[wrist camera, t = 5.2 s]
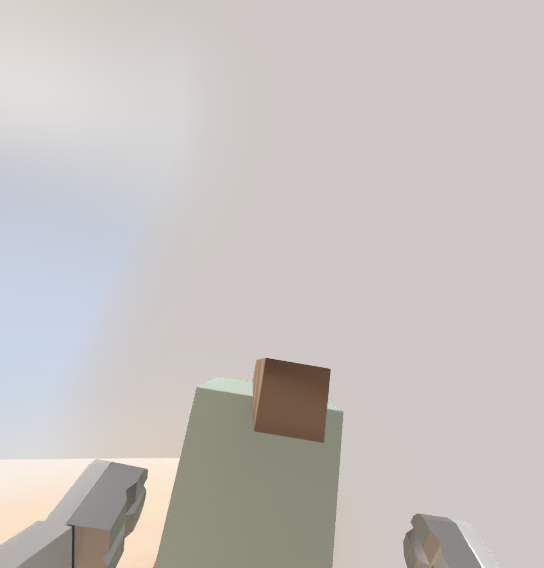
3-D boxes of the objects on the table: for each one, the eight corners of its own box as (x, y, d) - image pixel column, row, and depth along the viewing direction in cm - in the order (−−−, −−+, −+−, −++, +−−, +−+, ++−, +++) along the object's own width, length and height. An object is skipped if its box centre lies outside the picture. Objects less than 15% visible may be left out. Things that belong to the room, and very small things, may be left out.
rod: (323, 443, 9) (330, 369, 9) (253, 431, 9) (265, 358, 9) (273, 385, 30) (276, 363, 30) (252, 381, 30) (256, 360, 30)
